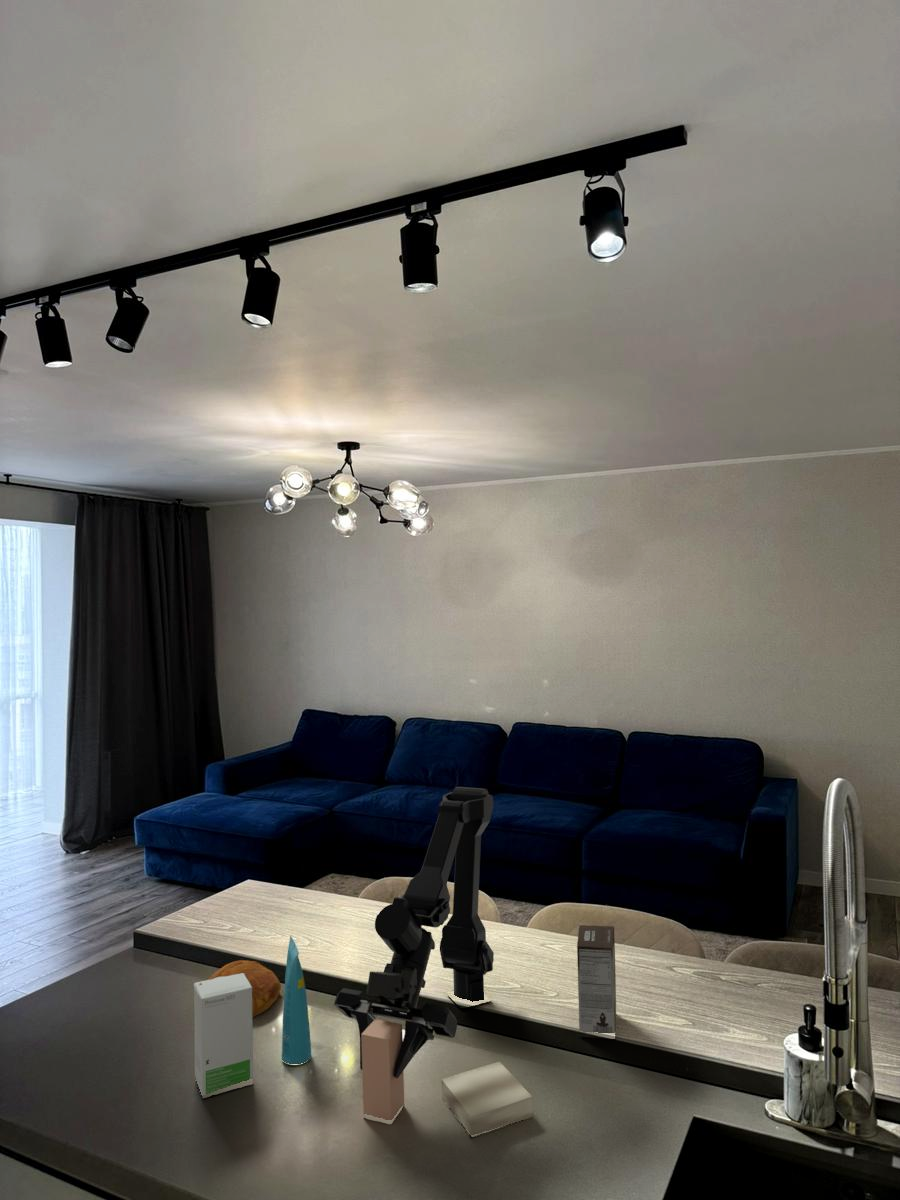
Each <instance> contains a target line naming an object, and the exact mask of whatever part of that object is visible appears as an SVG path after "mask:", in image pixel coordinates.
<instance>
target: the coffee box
mask: <svg viewBox="0 0 900 1200" xmlns="http://www.w3.org/2000/svg"><path fill="white" fill-rule="evenodd" d="M615 941H616V940H615V926H613V925H611V926H609V925H582V924H580V925H579V926H578V934H577V944H576V947H577V948H576V949H577V951H576V953H577V958H576V959H577V991H578V995H577V996H578V1027H579V1029H578V1030H579V1031H583V1032H598V1033H615V1032H616V1033H617V986H616V985H617V983H616V981H617V980H616V950H615V949H616V946H615V945H616V944H615Z"/></svg>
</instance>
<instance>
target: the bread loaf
mask: <svg viewBox="0 0 900 1200" xmlns="http://www.w3.org/2000/svg"><path fill="white" fill-rule="evenodd" d="M241 973H244V975H245V976H246V978H247V980H248V981H249V983H250V985H251V987H252V1019H253V1018H254V1017H256V1016H257V1015H260V1014H262V1013H264V1012H265V1011H267V1010H268V1009H270V1008H271V1006H272V1005H273V1004H274V1003H275V1001H277V999H278V997H279V996H280V993H281V992H280V991H281V989H282V986H281V982H280V980H279V978H278V977H277V975H276V974H275V972H273V971H272V970H271V969H268V968H267V967H266V966H264V965H262V964H260V962H259V961H256V960H253V961H252V960H244V959H240V960H235V961H232V962H229V963H227V964H225V965H224V966H222V967H221V968H219V969H217V971H214V972H213V974H212V975H210V976H209V977H208V978H207V979H206V980H211V979H214V978H217V977H226V976H231V975H236V974H241Z"/></svg>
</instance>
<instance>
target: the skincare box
mask: <svg viewBox="0 0 900 1200" xmlns="http://www.w3.org/2000/svg"><path fill="white" fill-rule="evenodd" d="M193 995H194V996H193V998H194V1001H193V1004H194V1010H193V1011H194V1015H193V1016H194V1078H195V1077H196V1080H195V1082H196V1081H197V1083H196V1085H197V1084H198V1086H199V1089H200V1091H199V1093H200V1092H201V1094H200V1096H201V1095H202V1096H203V1095H206V1094H209V1093H211V1092H214V1091H217V1090H219V1089H223V1088H226V1087H228V1086H231V1085H234V1084H237V1083H240V1082H242V1081H247V1080H249V1079H253V1080H254V1046H253V1045H254V1043H253V1041H254V1039H253V1038H254V1037H253V1036H254V1034H253V1027H254V1025H253V1018H252V987H251V985H250V983H249V981H248V980H247V978H246V976H245V975H244V973H241V974H236V975H231V976H226V977H217V978H214V979H211V980H207V979H206V980H201V981H198V982H197V981H196V982H194V983H193ZM198 1086H197V1087H198ZM199 1089H198V1090H199Z"/></svg>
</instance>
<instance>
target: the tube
mask: <svg viewBox="0 0 900 1200" xmlns="http://www.w3.org/2000/svg"><path fill="white" fill-rule="evenodd" d="M299 954H300V952H299V949H298V946H297V944H296V942H295V940H294V938H293V936H292V934H290V936H289V943H288V948H287V955H286V956H287V957H286V966H285V967H286V968H285V979H284V989H283V990H284V992H283V993H284V994H283V1007H282V1030H281V1031H282V1032H281V1035H282V1036H281V1037H282V1038H281V1061H282V1060H283V1061H284V1062H286V1063H289V1064H301V1063H304V1062H306V1061H307V1060H309V1059H310V1060H311V1058H312V1043H311V1029H310V1017H309V1008H308V999H307V992H306V991H307V989H306V984H305V977H304V973H303V968H302V965H301V962H300V957H299ZM310 1060H309V1061H310ZM306 1063H307V1062H306Z"/></svg>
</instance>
